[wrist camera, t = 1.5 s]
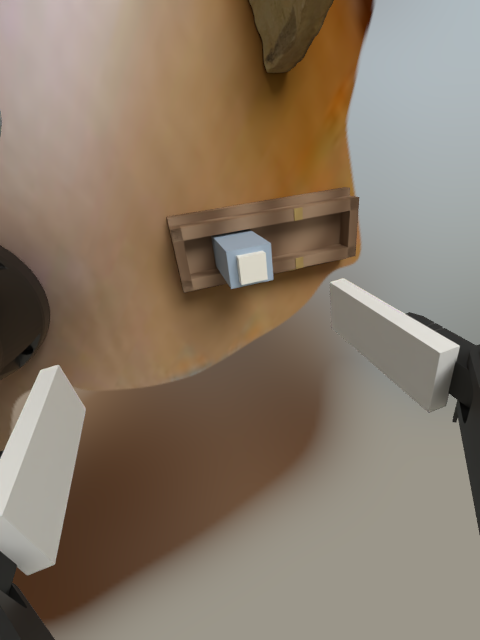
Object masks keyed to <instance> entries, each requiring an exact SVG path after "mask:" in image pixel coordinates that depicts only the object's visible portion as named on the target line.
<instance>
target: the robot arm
mask: <svg viewBox="0 0 480 640" xmlns="http://www.w3.org/2000/svg"><path fill="white" fill-rule="evenodd" d="M1 127H2V118H1V112H0V135H1ZM330 302H331V303H330V304H331V328H332V329H333V330H334V331H335V332H336V333H338V334H339V335H340V336H341V337H342V338H343V339H345V340H346V341H347V342H348V343H349V344H350V345H351V346H353V347H354V348H355V349H356V350H357V351H358V352H359V353H361V354H362V355H363V356H364V357H365V358H366V359H368V360H369V361H370V362H371V363H372V364H373V365H374V366H376V367H377V368H378V369H379V370H380V371H381V372H382V373H383V374H385V375H386V376H387V377H388V378H389V379H390V380H392V381H393V382H394V383H395V384H396V385H397V386H398V387H400V388H401V389H402V390H403V391H404V392H405V393H407V394H408V395H409V396H410V397H411V398H412V399H413V400H414V401H416V402H417V403H418V404H419V405H420V406H421V407H423V408H424V409H425V410H426V411H427V412H428V413H430V412H432V411H435V410H437V409H440V408H442V407H444V406H446V404H447V400H448V396H449V394H451V395H452V396H453V397H455V398H456V399H457V404H456V408H455V412H454V416H453V422H456V421H457V418H458V420H459V425H460V430H461V436H462V441H463V447H464V452H465V458H466V463H467V469H468V474H469V479H470V485H471V490H472V496H473V501H474V506H475V512H476V517H477V523H478V528H479V533H480V345H474V344H472V343H471V342H469V341H467V340H465V339H463V338H462V337H460V336H458V335H456V334H454V333H452V332H451V331H449V330H447V329H445V328H444V329H443V328H442V326H440V325H438V324H436V323H435V324H434V322H433V321H431V320H429V319H427V318H425V317H424V316H420V315H417V314H413V313H410V312H409V313H406V314H404V313H402V312H401V311H399V310H397V309H396V308H394V307H392V306H390V305H389V304H387V303H385V302H384V301H382V300H380V299H378V298H377V297H375V296H373V295H371V294H370V293H368V292H366V291H365V290H363V289H361V288H359V287H358V286H356V285H354V284H353V283H351V282H349V281H347V280H346V279H344V278H342V279H339V280H336V281H332V282H330ZM49 321H50V310H49V304H48V300H47V297H46V294H45V292H44V290H43V288H42V286H41V284H40V282H39V281H38V279H37V278H36V276H35V275H34V274H33V273H32V271H31V270H30V269H29V268H28V267H27V266H26V265H25V264H24V263H23V262H22V261H21V260H20V259H18V258H17V257H16V256H15V255H13V254H12V253H11V252H9V251H8V250H6V249H5V248H3V247H2V246H0V380H1V379H3V378H5V377H6V376H8V375H10V374H11V373H13V372H15V371H16V370H18V369H19V368H21V367H22V366H23V365H24V364H26V363H27V362H28V361H29V360H30V359H31V358H32V356H33V355H34V354H35V353H36V351H37V350H38V348H39V346H40V345H41V343H42V341H43V340H44V338H45V336H46V333H47V331H48V327H49ZM85 412H86V408H85V407H84V405H83V403H82V402H81V400H80V399H79V397H78V395H77V393H76V392H75V390H74V388H73V387H72V385H71V384H70V382H69V380H68V379H67V377H66V375H65V374H64V372H63V370H62V369H61V367H60V366H59V365H56V366H52V367H49V368H46V369H42V370H40V372H39V374H38V376H37V379H36V381H35V383H34V385H33V387H32V390H31V392H30V394H29V396H28V398H27V401H26V403H25V405H24V407H23V410H22V412H21V414H20V416H19V419H18V421H17V423H16V425H15V427H14V429H13V432H12V434H11V436H10V438H9V440H8V443H7V445H6V447H5V449H4V450H3V451H0V640H55V639H54V638H53V636H52V635H51V633H50V632H49V630H48V629H47V628H46V626H45V625H44V623H43V622H42V621H41V619H40V618H39V616H38V615H37V613H36V612H35V611H34V609H33V608H32V606H31V605H30V603H29V602H28V601H27V599H26V598H25V596H24V595H23V593H22V592H21V591H20V589H19V588H18V587H17V586H16V585H15V584H14V583H12V581H13V577H14V574H15V571H16V567H18V568H19V569H20V570H21V571H23V572H24V573H25V574H26V575H30V574H32V573H35V572H37V571H40V570H42V569H45V568H47V567H50V566H52V565H54V564H55V561H56V556H57V551H58V546H59V541H60V536H61V531H62V526H63V520H64V516H65V511H66V506H67V501H68V496H69V491H70V486H71V481H72V476H73V471H74V466H75V461H76V456H77V451H78V446H79V441H80V436H81V431H82V426H83V421H84V417H85Z"/></svg>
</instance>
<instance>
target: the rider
mask: <svg viewBox="0 0 480 640" xmlns="http://www.w3.org/2000/svg"><path fill="white" fill-rule="evenodd" d="M211 238H212V244H213V250H214V256H215V263H216V267H217V268H218V270H219V271H220V273H221V274H222V276H223V277H224V279H225V280H226V282H227V283H228V285H229V286H230V288H231V289H234V288H238V287H243V286H248V285H252V284H257V283H262V282H266V281H271V280H273V266H272V251H271V243H270V242H268V241H267V240H265V239H264V238H262V237H261V236H259V235H257V234H256V233H254V232H253V231H251V230H250V229H246V230H240V231H235V232H229V233H224V234H218V235H213V236H211Z"/></svg>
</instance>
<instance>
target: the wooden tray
mask: <svg viewBox="0 0 480 640" xmlns="http://www.w3.org/2000/svg"><path fill="white" fill-rule="evenodd" d="M358 207H359V197H354V196H350V188H346V187H344V188H338V189H332V190H326V191H320V192H314V193H308V194H301V195H295V196H289V197H283V198H277V199H271V200H265V201H259V202H253V203H247V204H241V205H235V206H229V207H223V208H217V209H211V210H205V211H199V212H193V213H187V214H181V215H175V216H169V217H167V221H168V225H169V230H170V234H171V239H172V243H173V248H174V252H175V257H176V261H177V265H178V270H179V274H180V279H181V283H182V288H183V292H184V293H185V292H190V291H195V290H200V289H204V288H209V287H214V286H218V285H223V284H228V283H227V282H226V280H225V279H224V277H223V276H222V274H221V273H220V271H219V270H218V268H217V267H216V263H215V256H214V250H213V244H212V238H211V236H213V235H218V234H224V233H229V232H235V231H240V230H246V229H250V230H251V231H253V232H254V233H256V234H257V235H259V236H261V237H262V238H264V239H265V240H267V241H268V242H270V243H271V251H272V266H273V274H275V273H280V272H285V271H293V270H297V269H299V268H304V267H308V266H313V265H318V264H323V263H327V262H332V261H337V260H342V259H346V258H348V257H353V256H355V253H356V238H357V223H358Z"/></svg>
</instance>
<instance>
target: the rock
mask: <svg viewBox="0 0 480 640" xmlns="http://www.w3.org/2000/svg"><path fill="white" fill-rule="evenodd" d="M333 1H334V0H249V2H250V5H251V6H252V8H253V13H254V16H255V24H256V26H257V29H258V32H259V34H260V35H261V38H262V41H263V54H264V65H265V67H266V71H267V72H268V73H276V72H278V73H283V72H288V71H290V70H291V69H292V68H294V67H295V66H296V64H297V63H298V62H300V61H301V60H302V59H303V58H304V56H305V54H306V52H307V50H308V48H309V46H310V45H311V43H312V41H313V39H314V38H315V36H316V35H318V33H319V31H320V29H321V27H322V25H323V22H324V19H325V17H326V15H327V12H328V10H329V8H330V7H331V5H332V3H333Z"/></svg>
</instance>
